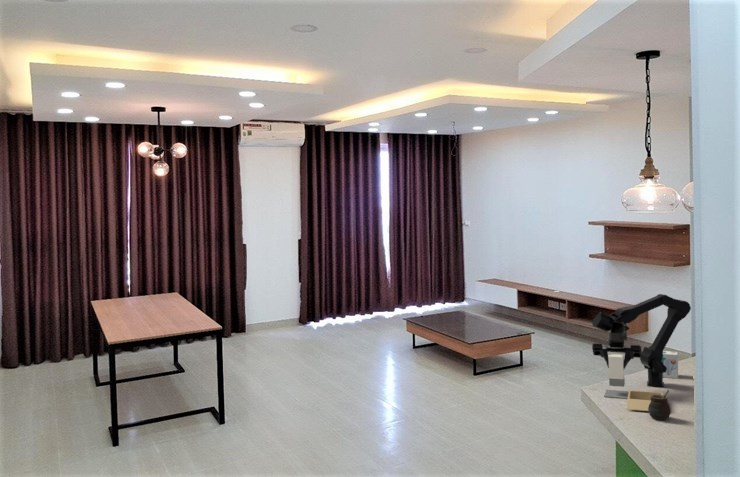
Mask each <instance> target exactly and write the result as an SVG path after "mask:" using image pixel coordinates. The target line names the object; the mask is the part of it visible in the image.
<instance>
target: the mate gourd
mask: <svg viewBox="0 0 740 477" xmlns="http://www.w3.org/2000/svg"><path fill="white" fill-rule="evenodd" d="M669 392H670V390H669V389H667V391H666V392H665V393H664V394H663V395H651V402H650V404H649V407H648V411H647V412H648V414H649V417H651V418H652V419H653V420H656V421H666V420H667V419H670V416H671V412H672V410H671V408H670V404H669V402H668V396H667V395H668V394H669Z"/></svg>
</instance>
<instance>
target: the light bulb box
mask: <svg viewBox="0 0 740 477" xmlns="http://www.w3.org/2000/svg"><path fill="white" fill-rule="evenodd" d="M678 353H679V352H678V351H672V350H671V351H670V350H663V359H662V362H661V363H662V364H664V365H665V366H666V367H667V370H666V372H665V373H663V378H666V379H667V378H668V379H678V378H679V354H678Z"/></svg>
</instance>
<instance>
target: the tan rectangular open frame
mask: <svg viewBox="0 0 740 477" xmlns="http://www.w3.org/2000/svg"><path fill="white" fill-rule="evenodd" d="M628 391H629V393H628V398H627V399H626V409H627V410H629V411H630V410H631V411H640V412H642V411H643V412H649V411H648V407H649V404H650V402H651V395H664V393H663V392H658V391H647V390H636V389H635V390H634V389H632V390H631V389H629V390H628Z"/></svg>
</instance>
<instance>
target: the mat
mask: <svg viewBox="0 0 740 477" xmlns="http://www.w3.org/2000/svg"><path fill="white" fill-rule="evenodd" d="M628 393H629V390H616V389H615V390H614V389H605V392H604V396H603V397H604V398H613V399H621V400H622V399H623V400H627V398H628Z"/></svg>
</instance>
